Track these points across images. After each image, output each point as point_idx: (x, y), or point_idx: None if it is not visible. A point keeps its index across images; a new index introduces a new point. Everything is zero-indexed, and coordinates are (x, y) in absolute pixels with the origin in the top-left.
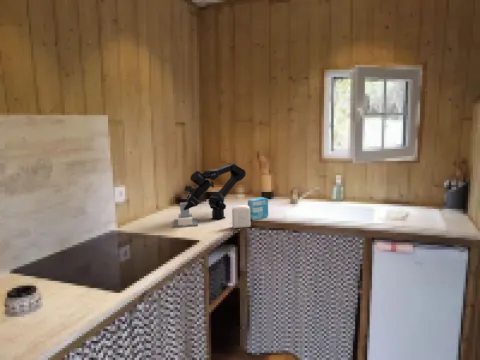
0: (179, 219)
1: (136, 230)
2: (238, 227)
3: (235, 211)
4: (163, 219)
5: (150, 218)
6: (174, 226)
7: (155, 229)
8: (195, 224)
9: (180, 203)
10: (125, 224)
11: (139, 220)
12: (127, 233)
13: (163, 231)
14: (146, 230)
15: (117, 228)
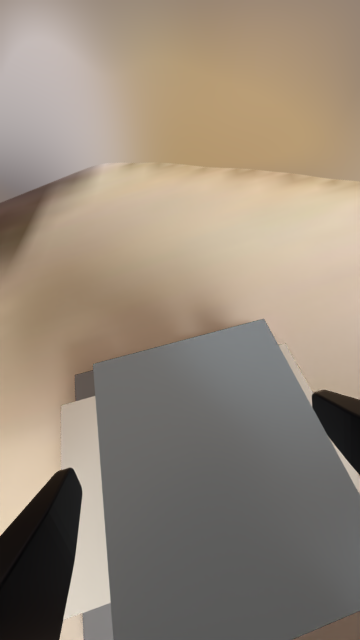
0: (61, 421)
1: (71, 220)
2: None
3: None
4: (278, 262)
5: (281, 205)
6: (76, 386)
7: (67, 286)
8: (90, 625)
9: (195, 347)
10: (171, 165)
11: (237, 182)
12: (33, 207)
13: (8, 341)
14: (59, 254)
15: (116, 163)
